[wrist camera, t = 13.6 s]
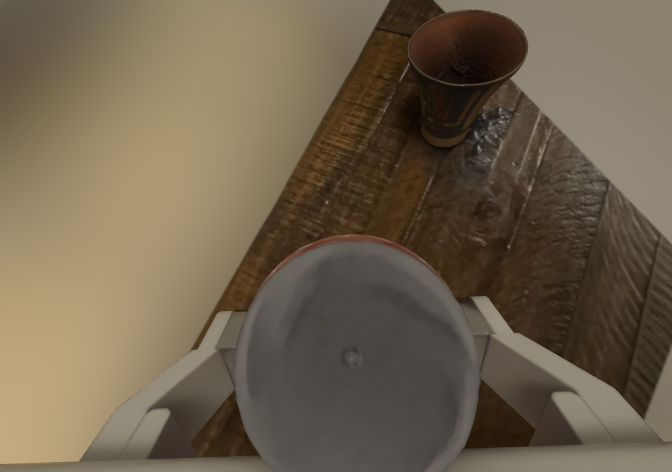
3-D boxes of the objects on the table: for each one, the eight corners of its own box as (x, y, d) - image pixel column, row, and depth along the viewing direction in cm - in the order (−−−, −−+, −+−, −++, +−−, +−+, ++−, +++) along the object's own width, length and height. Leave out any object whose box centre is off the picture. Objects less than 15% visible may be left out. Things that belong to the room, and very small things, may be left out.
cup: (413, 82, 33) (437, -15, 23) (487, 109, 31) (546, 15, 21) (380, 139, 31) (390, 59, 21) (457, 171, 29) (506, 99, 19)
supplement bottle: (289, 380, 15) (105, 555, 4) (308, 269, 16) (216, 171, 5) (403, 400, 14) (572, 675, 3) (411, 282, 16) (538, 202, 5)
